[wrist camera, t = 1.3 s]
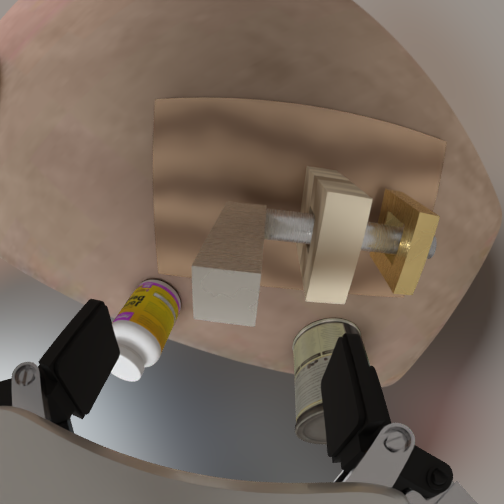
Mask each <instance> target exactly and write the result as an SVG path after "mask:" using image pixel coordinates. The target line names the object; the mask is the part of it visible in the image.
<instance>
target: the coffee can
mask: <svg viewBox="0 0 504 504" xmlns="http://www.w3.org/2000/svg"><path fill="white" fill-rule="evenodd" d="M344 333H350V334H359V335H360V338H361V333H360V331H359V329H358V328H357V326H356V325H355V324H353V323H352V322H350V321H348V320H345V319H340V318H328V319H322V320H319V321H316V322H313V323H311V324H310V325H308V326H306V327H305V328H303V329H302V330H301V331H300V332H299V333H298V334H297V336H296V338H295V339H294V342H293V354H294V373H295V399H296V425H295V433H296V435H297V436H298V438H300V439H301V440H303V441H306V442H309V443H314V444H327V441H326V430H325V421H324V411H323V402H322V394H321V380H322V377H323V375H324V372H325V370H326V368H327V365H328V363H329V360H330V358H331V355H332V353H333V350H334V347H335V345H336V342H337V340H338V338H339V337H342V336H343V334H344ZM361 341H362V338H361ZM362 344H363V341H362ZM363 347H364V344H363ZM364 350H365V348H364ZM365 353H366V351H365ZM366 356H367V354H366ZM367 359H368V357H367ZM368 363H369V360H368ZM369 366H370V363H369Z"/></svg>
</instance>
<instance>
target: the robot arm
mask: <svg viewBox="0 0 504 504" xmlns="http://www.w3.org/2000/svg"><path fill="white" fill-rule="evenodd" d="M119 356H120V349H119V346H118V343H117V340H116V336H115V333H114V329H113V326H112V322H111V319H110V315H109V311H108V308H107V306H105V304H104V302H103V301H99V300H95V299H90V300H89V301H88V302H87V303H86V304H85V305H84V306H83V308H82V309H81V310H80V311H79V312H78V313H77V315H76V316H75V317H74V318H73V319H72V320H71V322H70V323H69V324H68V325H67V326H66V328H65V329H64V330H63V331H62V332H61V334H60V335H59V336H58V337H57V339H56V340H55V341H54V342H53V344H52V345H51V347H49V349H48V350H47V351H46V353H45V354H44V355H43V357H42V358H41V359H40V361H39V364H40V365H39V366H38V367H37V366H36V365H35V364H34V363H31V362H24V363H21V364H20V365H18V366H17V367H16V368H15V369H14V371H13V373H12V378H11V379H8V380H4V381H1V382H0V504H477V502H476V501H475V500H474V499H473V498H472V497H471V496H470V495H469V494H468V493H467V492H466V490H465V489H464V488H463V487H462V486H461V485H460V484H459V483H458V482H455V483H454V482H453V481H452V480H453V473H452V469H451V468H450V466H449V465H447V464H446V463H445V462H443V461H441V460H440V459H438V458H436V457H434V456H432V455H431V454H429V453H427V452H426V451H424V450H422V449H420V448H419V447H417V446H415V437H414V435H413V432H412V431H411V430H410V428H408V427H407V426H406V425H403V424H400V423H392V424H391V421H390V417H389V413H388V409H387V406H386V402H385V399H384V395H383V392H382V389H381V385H380V382H379V379H378V376H377V373H376V370H375V368H374V367H373V366H369V363H368V359H367V356H366V353H365V350H364V347H363V344H362V341H361V338H360V335H359V334H350V333H344V334H343V336H342V337H339V338H338V340H337V342H336V345H335V347H334V350H333V353H332V355H331V358H330V360H329V363H328V365H327V368H326V370H325V372H324V375H323V377H322V380H321V394H322V402H323V411H324V421H325V430H326V441H327V452H328V456H329V457H332V461H333V463H337V462H341V468H342V469H343V471H342V472H341V473H340V474H339V475H338V477H337V478H336V479H335V481H333V482H332V483H331V482H330V483H269V482H252V481H242V480H233V479H225V478H218V477H211V476H206V475H200V474H195V473H190V472H185V471H181V470H176V469H172V468H168V467H164V466H160V465H157V464H153V463H150V462H146V461H143V460H140V459H137V458H134V457H131V456H128V455H125V454H122V453H119V452H117V451H114V450H111V449H109V448H106V447H103V446H101V445H99V444H96V443H94V442H92V441H89V440H87V439H85V438H83V437H81V436H78V435H76V434H74V431H73V427H72V424H71V419H70V417H71V415H72V414H73V415H75V416H77V417H79V418H81V419H83V418H84V416H85V414H88V413H89V412H90V410H91V408H92V406H93V404H94V402H95V401H96V399H97V397H98V395H99V393H100V391H101V389H102V387H103V386H104V384H105V382H106V380H107V378H108V376H109V375H110V373H111V371H112V369H113V367H114V366H115V364H116V362H117V360H118V359H119Z"/></svg>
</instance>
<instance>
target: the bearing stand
mask: <svg viewBox="0 0 504 504" xmlns="http://www.w3.org/2000/svg"><path fill="white" fill-rule="evenodd" d="M446 144H447V142H445V141H443V140H440V139H438V138H435V137H432V136H429V135H426V134H424V133H421V132H418V131H415V130H412V129H408V128H405V127H402V126H399V125H395V124H392V123H388V122H385V121H381V120H377V119H373V118H369V117H365V116H361V115H357V114H352V113H348V112H343V111H338V110H333V109H327V108H321V107H315V106H309V105H302V104H295V103H287V102H278V101H268V100H256V99H241V98H167V99H155V108H154V129H153V202H154V224H155V240H156V253H157V264H158V273H159V274H166V275H173V276H181V277H188V278H192V264H193V262H194V260H195V258H196V257H197V255H198V253H199V251H200V249H201V247H202V245H203V244H204V242H205V240H206V238H207V236H208V235H209V233H210V231H211V229H212V227H213V226H214V224H215V222H216V220H217V218H218V217H219V215H220V213H221V211H222V210H223V208H224V206H225V204H226V203H227V202H238V203H249V204H259V205H267V209H277V210H286V211H294V212H302V213H310V214H314V216H315V221H314V226H313V232H312V238H311V243H310V244H302V243H293V242H284V241H275V240H265V239H264V246H263V258H262V271H261V280H260V286H265V287H275V288H285V289H296V290H304V294H305V301H309V302H322V303H335V304H345V301H346V298H347V295H348V294H355V295H369V296H385V297H402V298H404V296H405V295H403V294H393V293H392V291H391V289H390V287H389V286H388V284H387V282H386V281H385V279H384V278H383V276H382V274H381V273H380V271H379V269H378V268H377V266H376V265H375V263H374V261H373V260H372V258H371V257H370V255H369V254H370V251H362V250H361V247H362V243H363V239H364V235H365V231H366V227H367V222H374V223H378V220H379V216H380V211H381V207H382V202H383V198H384V193H385V189H390V190H395V191H399V192H403V193H405V194H406V195H408V196H410V197H411V198H413V199H414V200H416V201H417V202H419V203H420V204H422V205H423V206H425V207H426V208H428V209H429V210H431V211H432V212H433V209H434V205H435V201H436V196H437V192H438V188H439V183H440V178H441V173H442V168H443V163H444V157H445V150H446ZM404 226H405V225H403V227H404Z"/></svg>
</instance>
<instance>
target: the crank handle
mask: <svg viewBox="0 0 504 504" xmlns="http://www.w3.org/2000/svg"><path fill="white" fill-rule="evenodd" d="M314 221H315V216H314V214H310V213H302V212H294V211H286V210H277V209H267V205H259V204H249V203H238V202H227V203H226V204H225V206H224V208H223V210H222V211H221V213H220V215H219V217H218V218H217V220H216V222H215V224H214V226H213V227H212V229H211V231H210V233H209V235H208V236H207V238H206V240H205V242H204V244H203V245H202V247H201V249H200V251H199V253H198V255H197V257H196V258H195V260H194V262H193V264H192V293H193V313H194V319H198V320H205V321H212V322H220V323H227V324H236V325H244V326H253V327H255V322H256V314H257V305H258V297H259V289H260V280H261V271H262V258H263V246H264V239H265V240H275V241H284V242H293V243H302V244H310V243H311V238H312V232H313V226H314ZM403 230H404V227H399V226H393V225H387V224H380V223H374V222H367V227H366V231H365V235H364V239H363V243H362V247H361V250H362V251H371V252H379V253H387V254H395V255H396V254H397V250H398V247H399V244H400V240H401V237H402V233H403ZM435 250H436V238H435V235H434V238H433V241H432V244H431V247H430V250H429V253H428V256H427V259H429V258H431V257H432V256H433V255H434V253H435Z"/></svg>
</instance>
